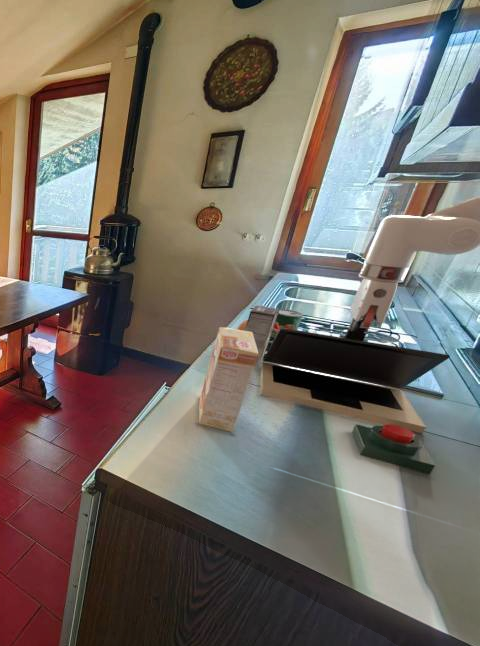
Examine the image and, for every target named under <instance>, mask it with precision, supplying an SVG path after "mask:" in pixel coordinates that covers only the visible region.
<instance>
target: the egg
mask: <svg viewBox="0 0 480 646" xmlns="http://www.w3.org/2000/svg"><path fill="white" fill-rule="evenodd" d="M247 321H248V319H245V320H244V321H242V322H241V323H240V324H238V326H237V327H236V329H237V330H242V331H245V328H246V324H247Z"/></svg>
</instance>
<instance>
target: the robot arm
mask: <svg viewBox="0 0 480 646" xmlns="http://www.w3.org/2000/svg"><path fill="white" fill-rule="evenodd" d="M478 247H480V196H476V197H473V198H470V199H467V200H464V201H461V202H458V203H457V204H456V203H455V204H453V205H451V206H448V207H445V208H443V209H439V210H438V211H437V210H436V211H435V212H432V213H429V214H427V215H425V216H415V215H414V216H413V215H389V216H386V217H385V218H383V219H382V220H381V221H380V223H379V225H378V228H377V230H376V233H375V235H374V238H373V240H372V241H371V244H370V246H369V249H368V251H367V254H366V256H365V259H364V261H363V263H362V266H361V269H360V271H359V274H358V278H361V279H362V280H361V282H360V285H359V286H358V289H357V291H356V293H355V295H354V298H353V300H352V303H351V306H350V309H349V314H350V315H351V317H352V318H351V321H350V323H349V327H348V328H347V330H346V332H345V334H344V337H343V338H347V339H353V340H360V341H365V338H366V336H367V333H368V331H369V330H370V327H371V325H372V323H373V322H375V323H376V324H377V325H379V326H380V325H383V324H384V323H385V321H386V318H387V316H388V314H389V311H390V308H391V305H392V303H393V301H394V299H395V295H396V292H397V288H398V285H399V283H404V281H405V279H406V277H407V274H408V273H409V270H410V269H411V266H412V265H413V262H414V260H415V258H416V255H417V253H418V252H425V253H432V254H439V255H445V256H455V255H462V254H466V253H469V252H471V251H474V250H475V249H477V248H478Z"/></svg>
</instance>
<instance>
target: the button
mask: <svg viewBox="0 0 480 646" xmlns="http://www.w3.org/2000/svg"><path fill="white" fill-rule="evenodd" d="M383 426H384V427H383V429H382V431H381V434H382V435H383V436H385V437H387V438H389V439H392V440H394V441H397V442H401V443H411V441H412V440H413V438H414V436H415V435H416V434H415V432H414V431H410V430H408V429H405V428H403V427H400V426H396V425H390V424H387V425H385V424H383ZM415 437H416V436H415Z"/></svg>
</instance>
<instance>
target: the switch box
mask: <svg viewBox="0 0 480 646" xmlns="http://www.w3.org/2000/svg"><path fill="white" fill-rule="evenodd" d="M383 427H384V425H374V426H372V427H369V426H366V425H360V424H357V423H356V424H355V425H354V427H353V429H352V431H351V434H352V436H353V440H354V442H355V445H356V448H357V450H358V453H359V456H361V457H365V458H368V459H372V460H377V461H380V462H383V463H387V464H390V465H394V466H398V467H402V468H404V469H409V470H411V471H416V472H419V473H423V474H427V475H431V473H432V472H433V470H434V469H435V468H436V464H435V463H434V462H433V460H432V458H431V456H430V455H429V453H428V452H427V450H426V448H425V446H424V443H423V442H422V441H421V439H419V438H418V437H416V436H414V438H413V440H412V441H411V443H401V442H397V441H394V440H392V439H389V438H387V437H385V436H383V435H382V434H381V431H382V429H383Z"/></svg>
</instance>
